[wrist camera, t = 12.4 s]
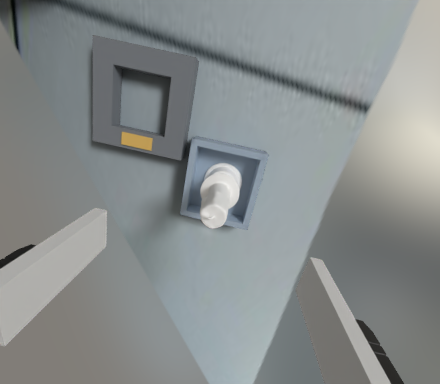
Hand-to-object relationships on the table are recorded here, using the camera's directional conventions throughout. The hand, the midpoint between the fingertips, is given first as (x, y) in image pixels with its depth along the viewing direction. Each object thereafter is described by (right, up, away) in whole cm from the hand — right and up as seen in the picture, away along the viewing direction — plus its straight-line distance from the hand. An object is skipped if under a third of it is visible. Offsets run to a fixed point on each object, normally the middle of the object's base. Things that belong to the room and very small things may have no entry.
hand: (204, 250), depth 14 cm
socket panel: (-9, +15, +14) cm, 23 cm away
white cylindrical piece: (+1, +5, +16) cm, 17 cm away
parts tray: (+1, +5, +17) cm, 18 cm away
